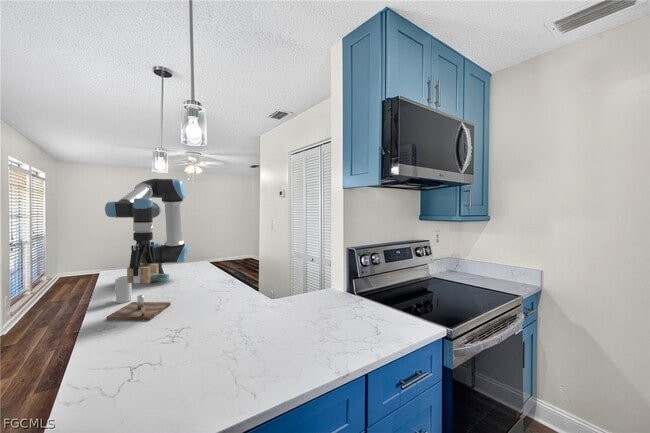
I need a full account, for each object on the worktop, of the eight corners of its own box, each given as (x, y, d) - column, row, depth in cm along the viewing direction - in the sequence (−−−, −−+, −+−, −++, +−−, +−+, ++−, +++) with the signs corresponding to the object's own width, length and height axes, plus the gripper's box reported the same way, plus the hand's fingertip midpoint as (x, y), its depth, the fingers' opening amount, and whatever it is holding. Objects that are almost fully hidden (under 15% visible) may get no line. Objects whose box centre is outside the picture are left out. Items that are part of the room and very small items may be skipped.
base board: (132, 304, 139) (132, 301, 139) (170, 305, 140) (170, 302, 140) (106, 320, 121) (106, 316, 121) (149, 320, 122) (149, 316, 122)
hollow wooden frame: (127, 283, 127) (127, 267, 127) (139, 278, 136) (139, 263, 136) (162, 283, 128) (162, 267, 128) (172, 278, 137) (172, 263, 137)
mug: (134, 300, 146) (134, 276, 145) (121, 304, 140) (120, 280, 139) (122, 297, 150) (122, 274, 149) (108, 300, 144) (108, 277, 143)
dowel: (142, 314, 124) (142, 307, 124) (145, 314, 124) (145, 307, 124) (140, 316, 123) (140, 308, 123) (143, 316, 123) (143, 308, 123)
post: (139, 307, 132) (139, 295, 131) (145, 307, 132) (145, 295, 132) (136, 309, 129) (136, 296, 129) (141, 309, 129) (141, 296, 129)
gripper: (137, 234, 120) (137, 286, 121) (163, 229, 142) (163, 274, 143) (118, 233, 120) (119, 286, 121) (148, 229, 142) (148, 274, 143)
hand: (143, 280), depth 132 cm, fingers closed on hollow wooden frame, 9 cm apart
